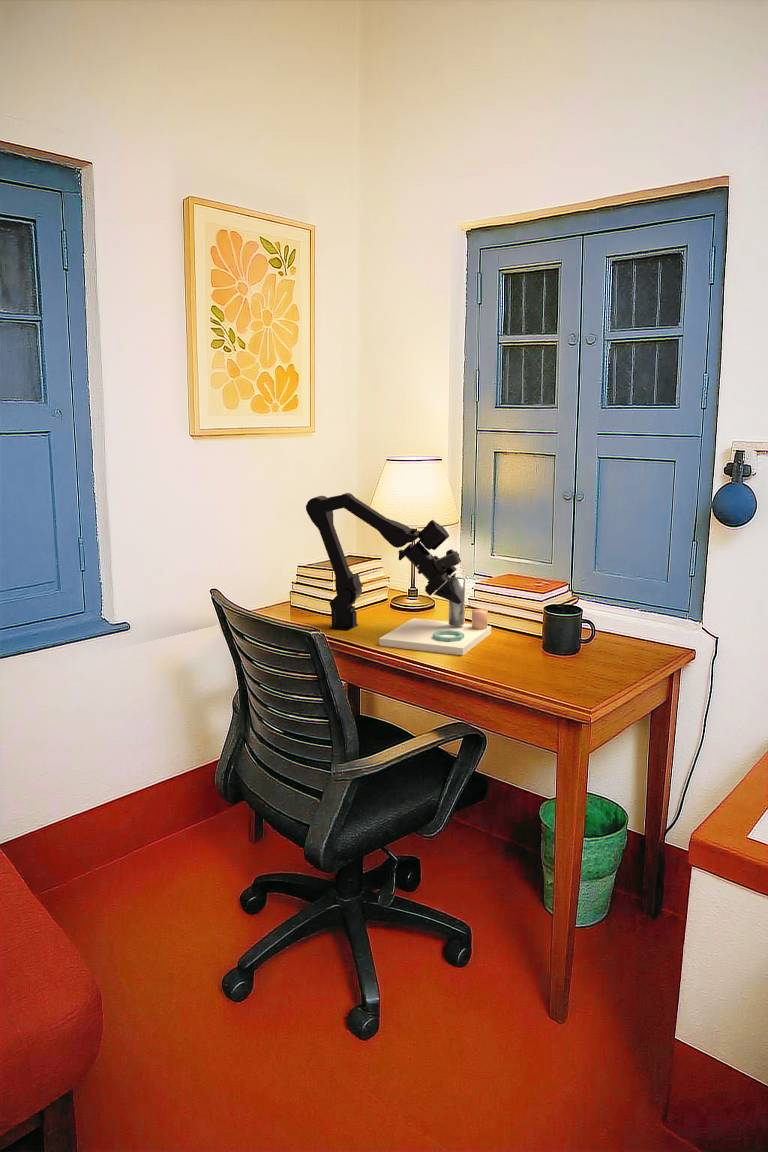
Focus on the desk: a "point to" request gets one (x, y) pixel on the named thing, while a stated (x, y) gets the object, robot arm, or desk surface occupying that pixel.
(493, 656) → the desk surface
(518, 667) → the desk surface
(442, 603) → the desk surface
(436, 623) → the board
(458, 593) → the shiny metal cylinder
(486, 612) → the peach rounded cylinder
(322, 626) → the desk surface
